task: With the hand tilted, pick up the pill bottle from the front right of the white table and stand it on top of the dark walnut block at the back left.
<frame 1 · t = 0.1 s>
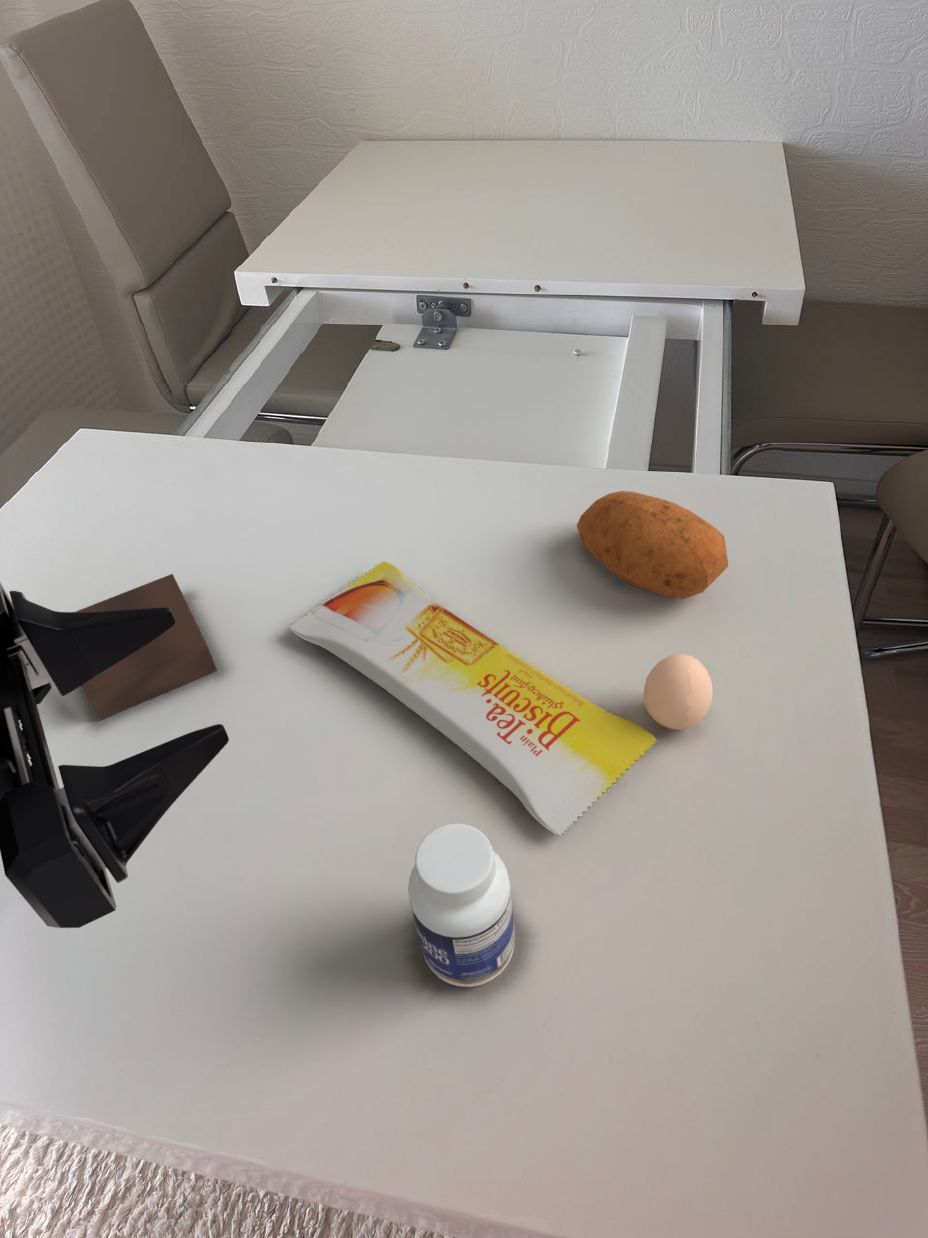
hand: (197, 670, 48), 17 cm above the table, tool horizontal, fingers open, 9 cm apart
egg: (672, 720, 65), on the table
walnut block: (143, 657, 73), on the table
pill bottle: (468, 945, 55), on the table
food package: (461, 691, 68), on the table
potato: (646, 572, 75), on the table
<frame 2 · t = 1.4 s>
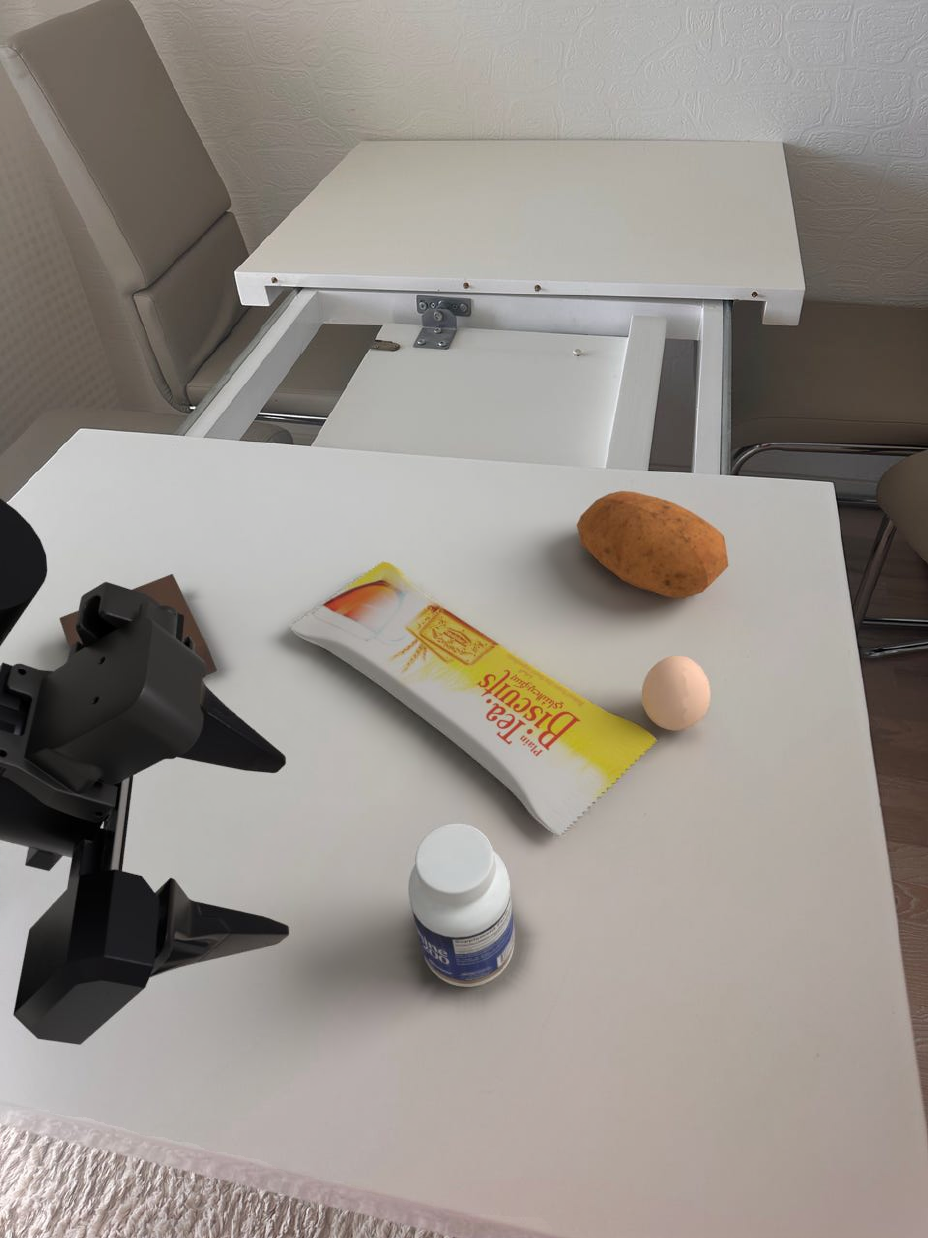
hand: (283, 844, 45), 13 cm above the table, tool tilted 45°, fingers open, 9 cm apart
nothing on the table moved.
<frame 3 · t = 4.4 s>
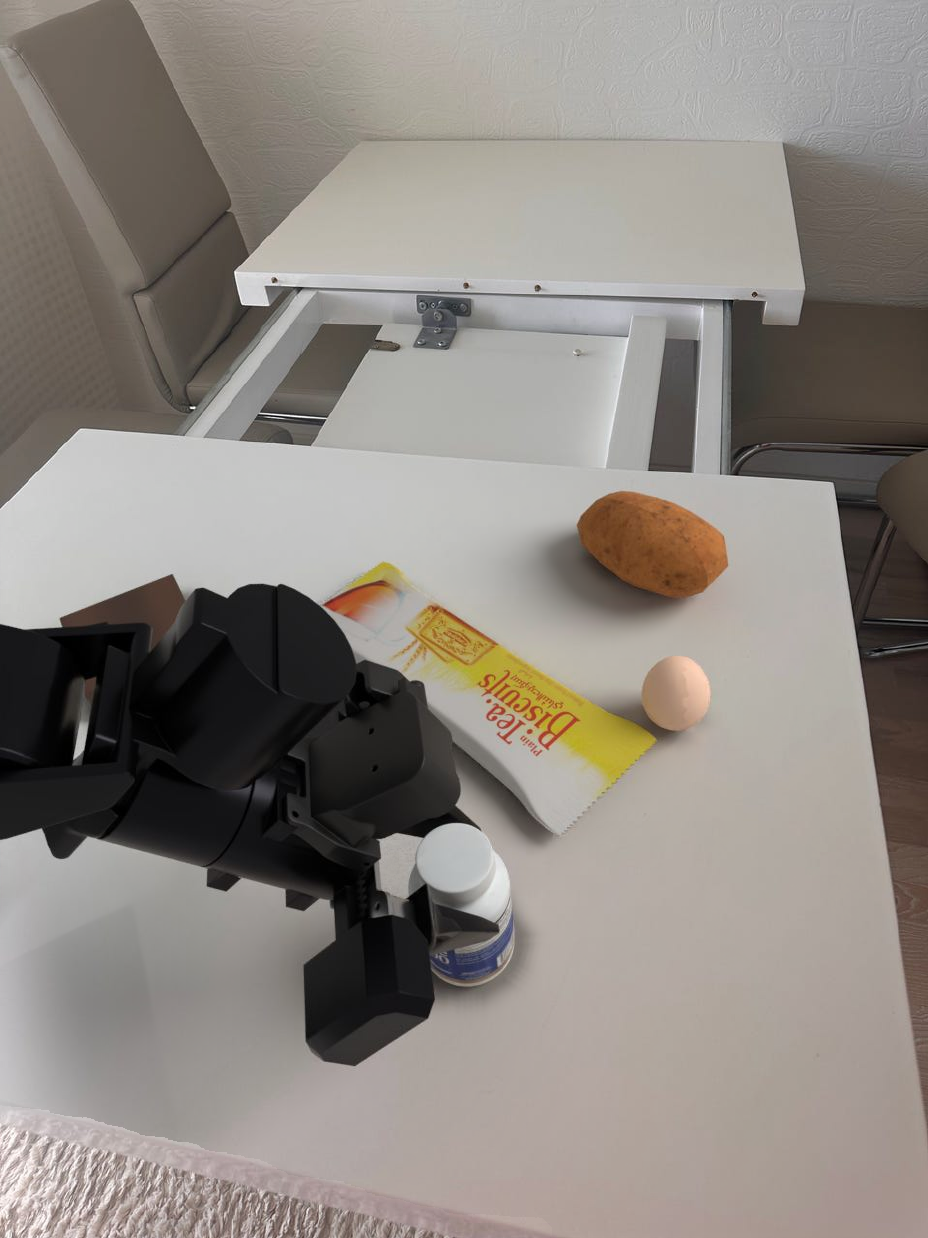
hand: (485, 883, 50), 7 cm above the table, tool tilted 45°, fingers closed on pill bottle, 5 cm apart
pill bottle: (468, 945, 55), on the table, touching gripper
everything else where it was.
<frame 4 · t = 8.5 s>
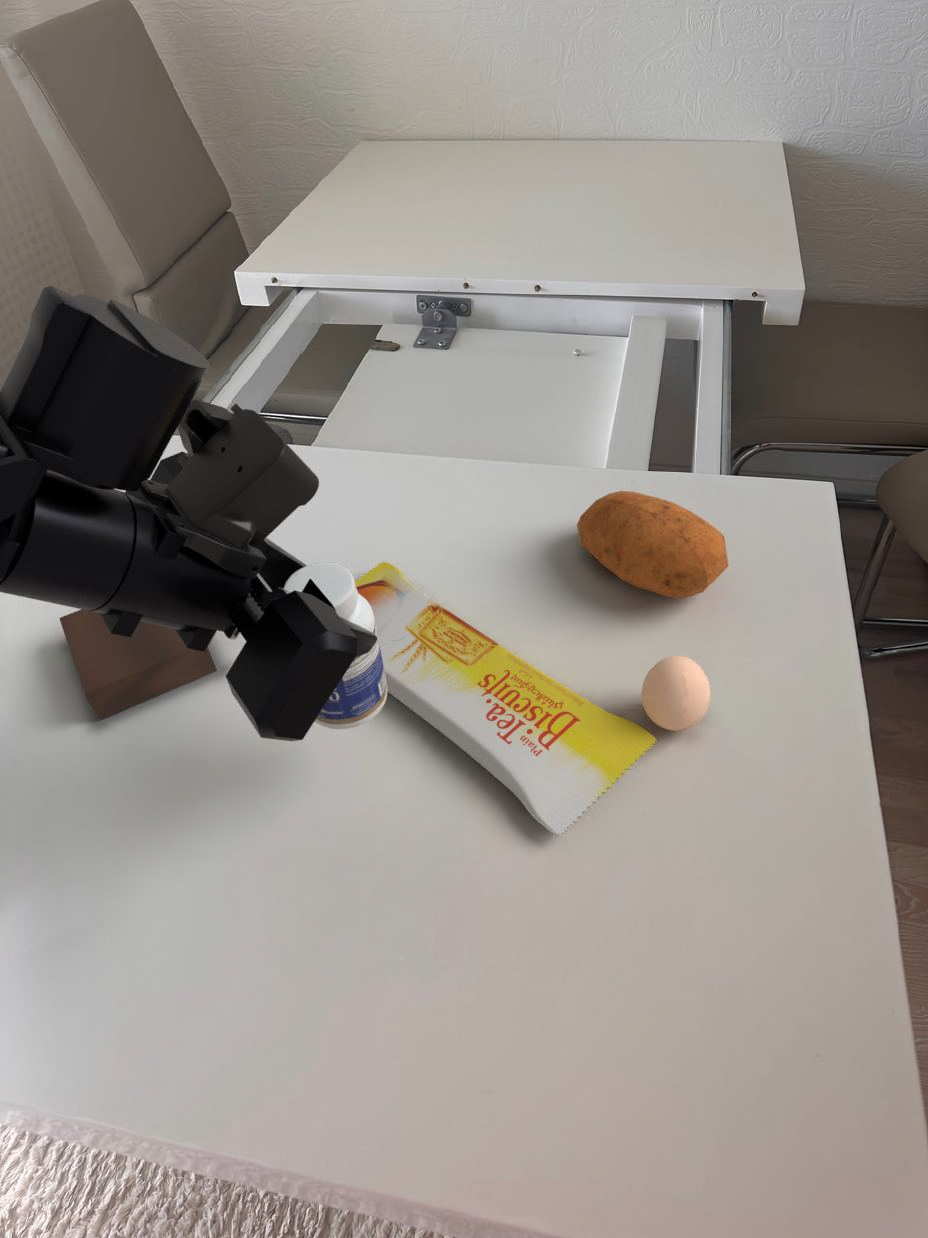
hand: (348, 615, 55), 13 cm above the table, tool tilted 45°, fingers closed on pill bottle, 5 cm apart
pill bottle: (346, 700, 60), point 7 cm above the table, touching gripper
everything else where it was.
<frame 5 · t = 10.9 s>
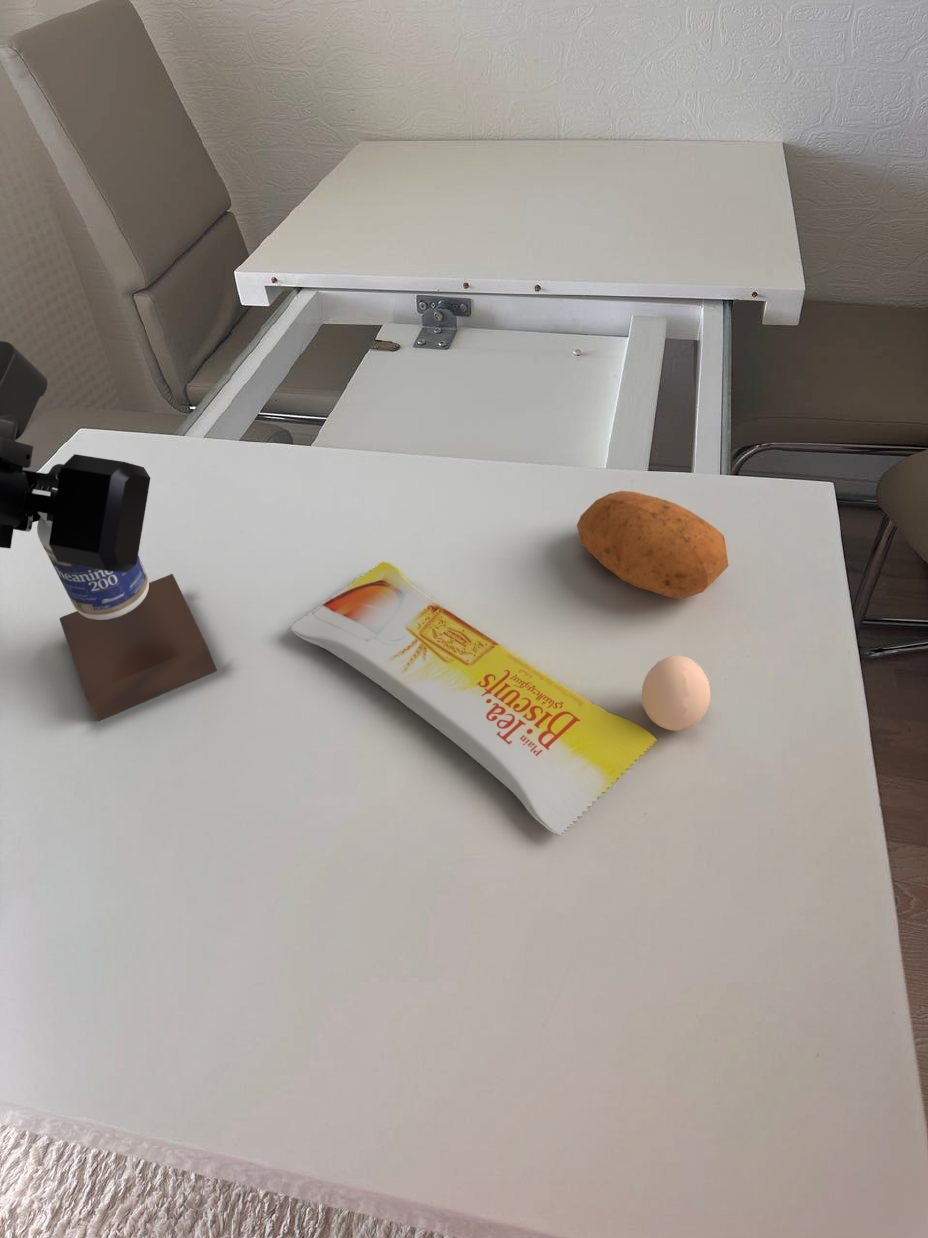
hand: (92, 513, 64), 13 cm above the table, tool tilted 45°, fingers closed on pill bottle, 5 cm apart
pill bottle: (114, 598, 68), point 7 cm above the table, touching gripper
everything else where it was.
when the fingers open (10 cm above the table, at t = 12.7 s): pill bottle stays where it is, resting on walnut block.
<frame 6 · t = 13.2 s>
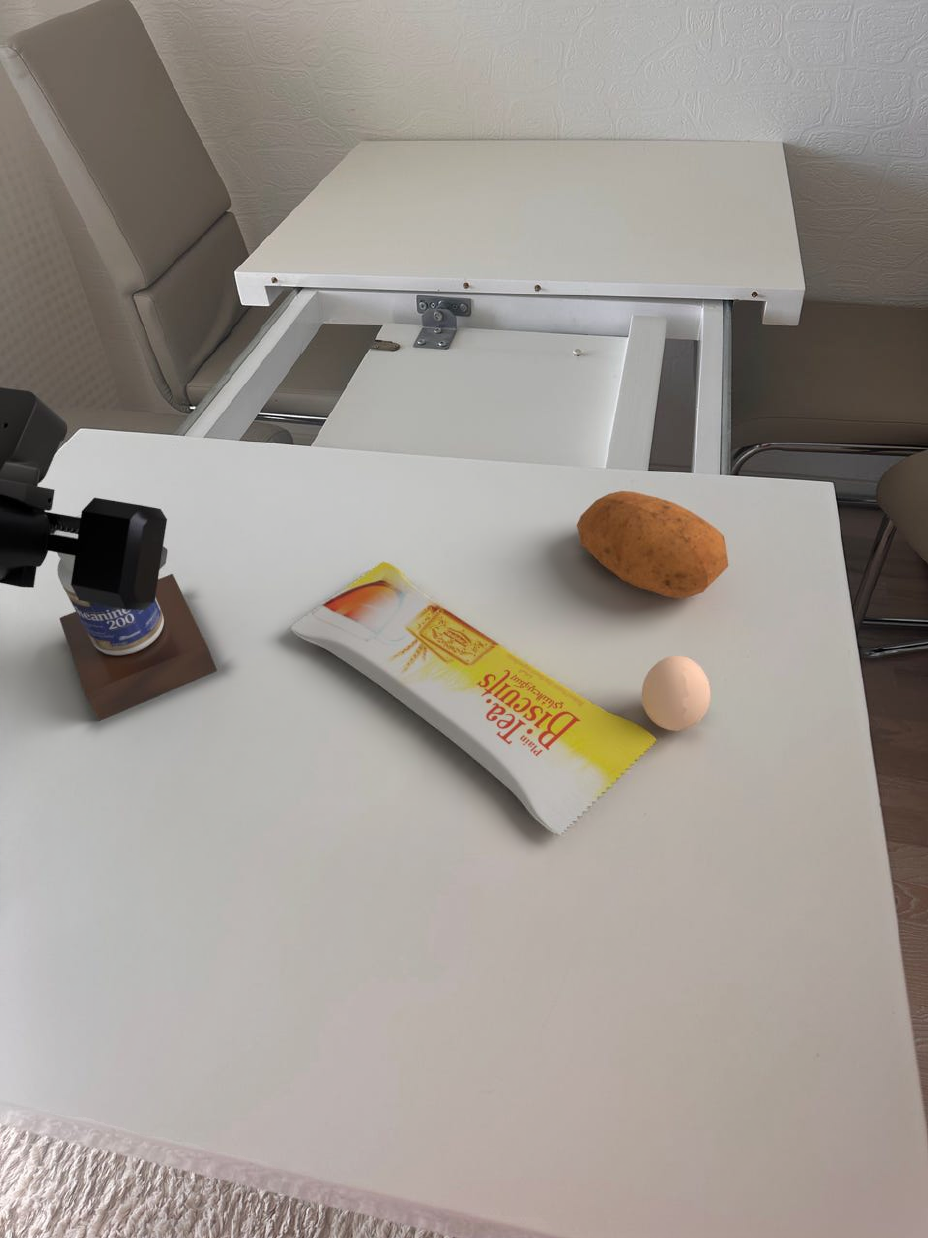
hand: (108, 546, 67), 10 cm above the table, tool tilted 45°, fingers open, 9 cm apart
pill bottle: (130, 633, 71), point 3 cm above the table, touching walnut block
everything else where it was.
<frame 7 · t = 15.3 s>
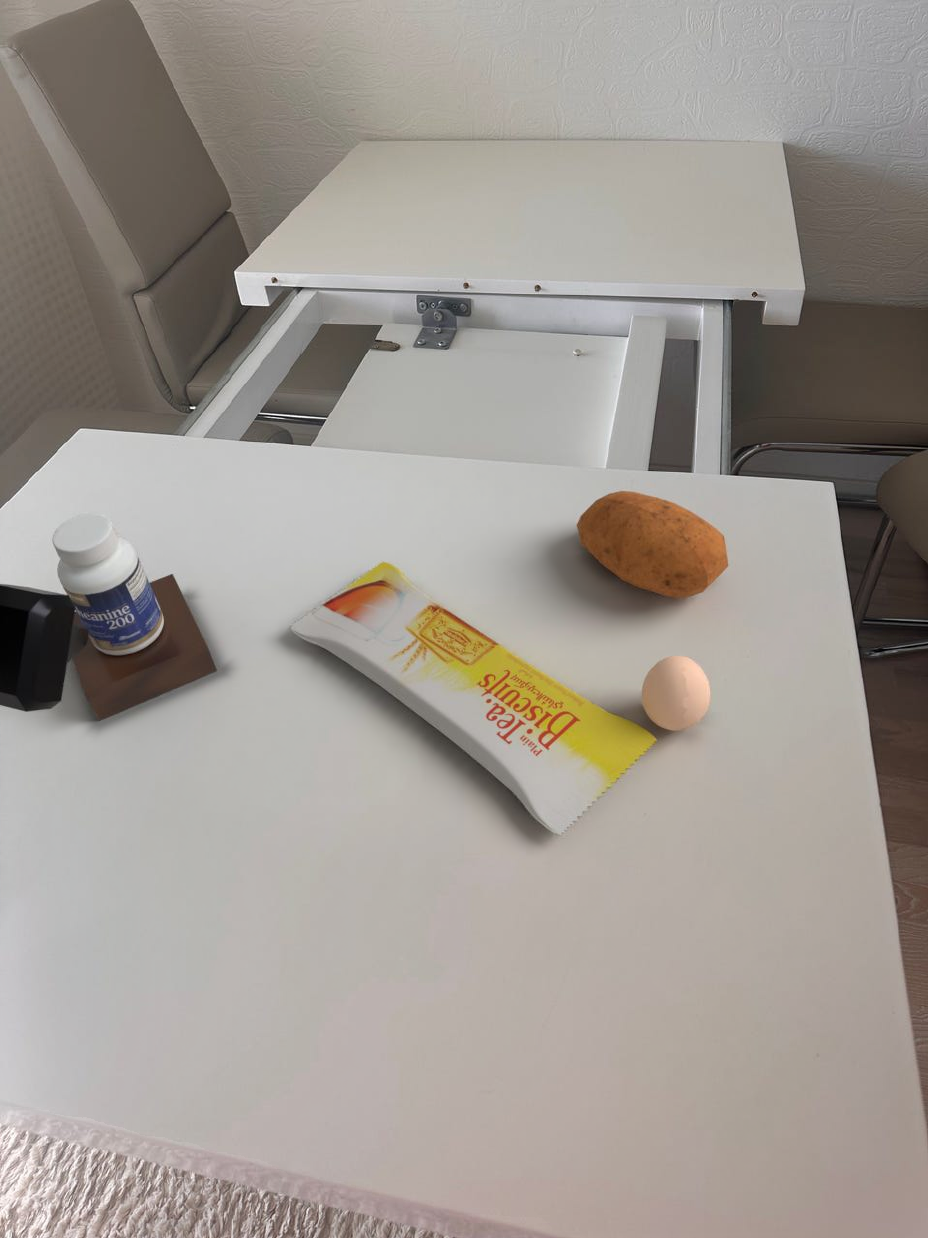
hand: (25, 623, 60), 11 cm above the table, tool tilted 45°, fingers open, 9 cm apart
nothing on the table moved.
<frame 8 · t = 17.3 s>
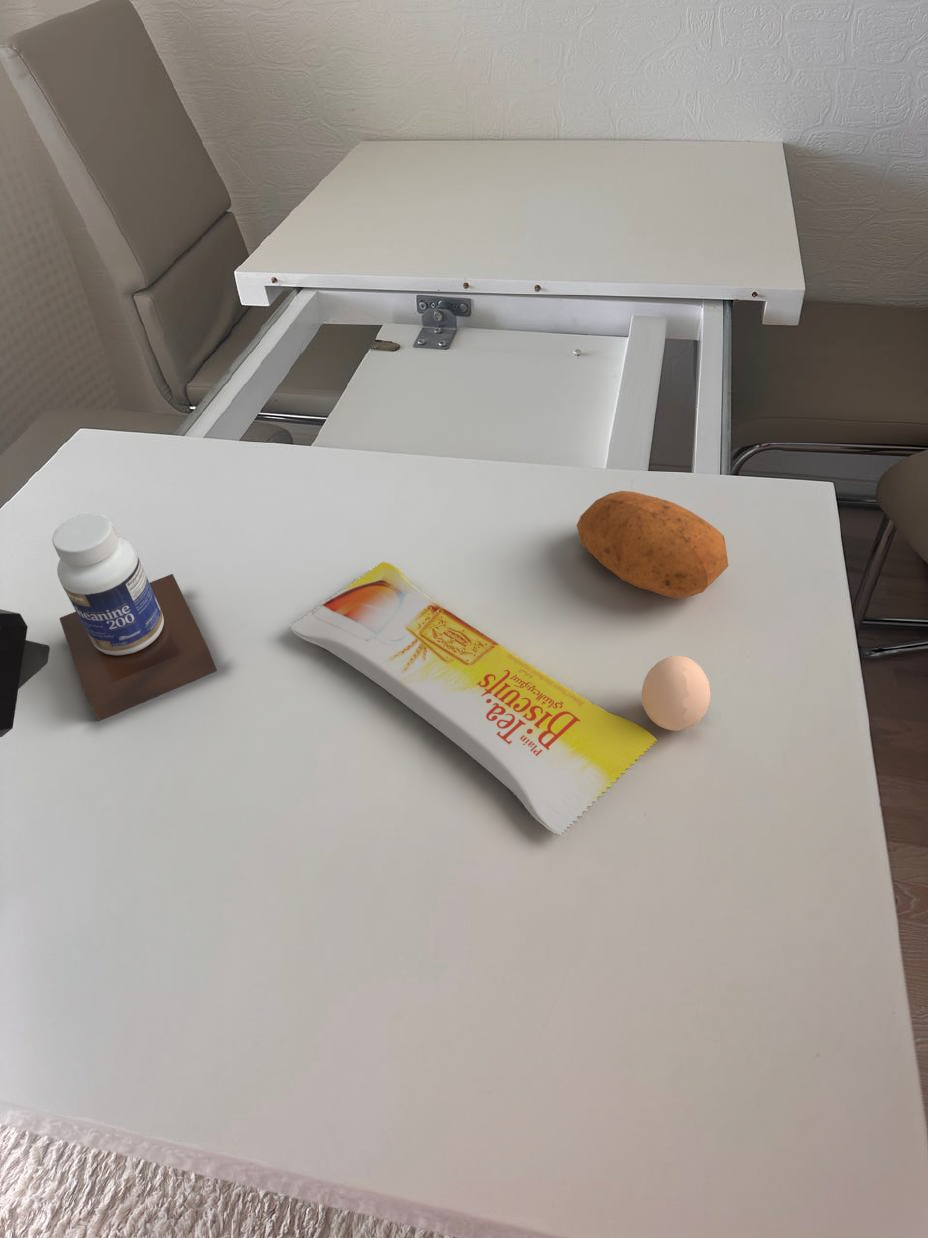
nothing on the table moved.
at the end: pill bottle 0.1 cm off-centre on the walnut block, point 2.8 cm above the walnut block's base; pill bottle tilted 0°; the gripper is holding nothing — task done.
